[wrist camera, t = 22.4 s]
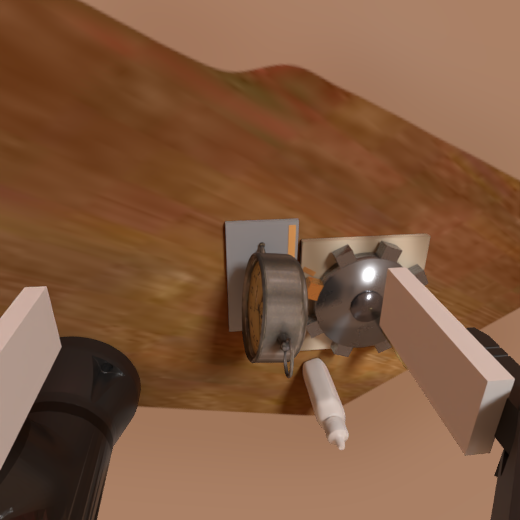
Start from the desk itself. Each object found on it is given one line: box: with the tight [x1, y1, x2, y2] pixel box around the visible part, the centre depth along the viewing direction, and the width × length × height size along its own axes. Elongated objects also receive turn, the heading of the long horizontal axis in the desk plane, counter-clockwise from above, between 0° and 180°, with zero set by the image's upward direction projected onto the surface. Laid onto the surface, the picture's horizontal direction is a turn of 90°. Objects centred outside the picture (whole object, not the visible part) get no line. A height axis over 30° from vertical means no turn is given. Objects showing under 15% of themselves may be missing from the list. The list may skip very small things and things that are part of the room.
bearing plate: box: [300, 234, 430, 351], centre depth 51 cm, size 15×15×1 cm
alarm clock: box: [242, 242, 308, 378], centre depth 41 cm, size 11×5×16 cm, turn 172°
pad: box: [225, 219, 299, 332], centre depth 48 cm, size 8×14×1 cm, turn 0°
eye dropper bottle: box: [303, 358, 349, 450], centre depth 51 cm, size 4×6×12 cm
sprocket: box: [306, 241, 428, 369], centre depth 47 cm, size 15×15×8 cm
